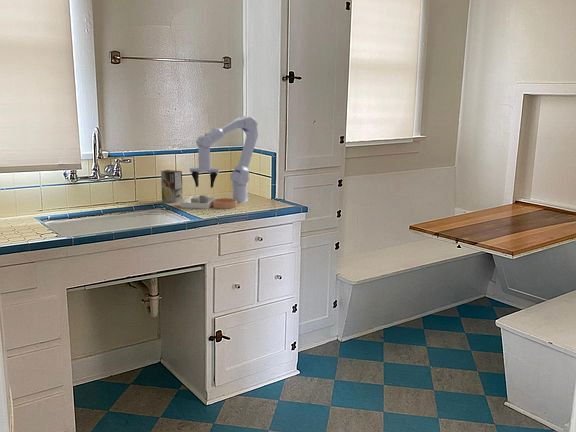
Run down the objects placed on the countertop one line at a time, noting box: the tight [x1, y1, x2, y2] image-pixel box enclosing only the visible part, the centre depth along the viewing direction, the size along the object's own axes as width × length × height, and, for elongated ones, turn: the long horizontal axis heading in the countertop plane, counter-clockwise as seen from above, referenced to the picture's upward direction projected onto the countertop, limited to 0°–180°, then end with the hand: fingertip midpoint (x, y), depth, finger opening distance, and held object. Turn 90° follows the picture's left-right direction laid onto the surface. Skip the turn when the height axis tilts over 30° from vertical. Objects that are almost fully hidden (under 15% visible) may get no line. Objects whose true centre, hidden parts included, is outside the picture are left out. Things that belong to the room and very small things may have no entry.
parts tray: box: [179, 195, 219, 210], centre depth 307 cm, size 18×14×3 cm
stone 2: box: [199, 194, 209, 203], centre depth 311 cm, size 4×4×4 cm
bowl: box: [211, 197, 238, 210], centre depth 304 cm, size 12×12×4 cm
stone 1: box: [191, 198, 200, 203], centre depth 303 cm, size 4×4×4 cm
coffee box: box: [160, 169, 184, 203], centre depth 314 cm, size 9×6×16 cm
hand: (204, 187), depth 309 cm, fingers open, 7 cm apart
